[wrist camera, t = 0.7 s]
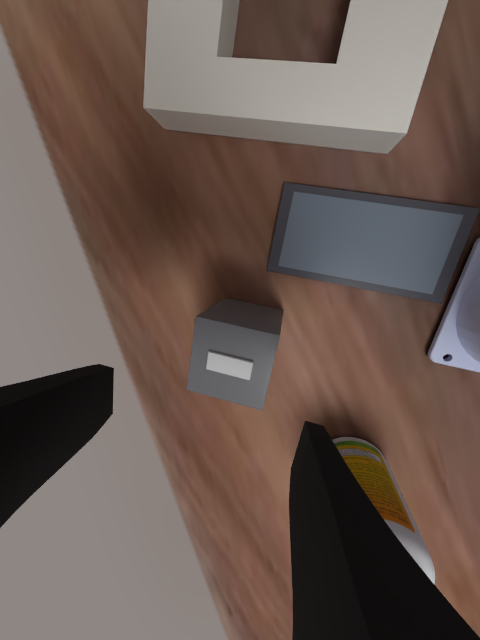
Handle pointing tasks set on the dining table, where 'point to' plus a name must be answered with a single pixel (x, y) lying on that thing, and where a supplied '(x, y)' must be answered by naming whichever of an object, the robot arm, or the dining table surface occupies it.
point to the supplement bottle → (385, 496)
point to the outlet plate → (290, 76)
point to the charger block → (234, 351)
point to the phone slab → (369, 240)
